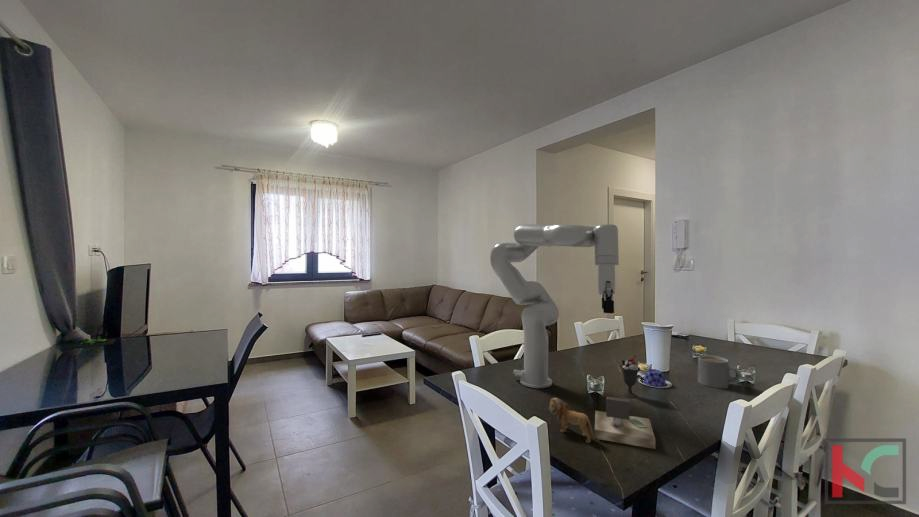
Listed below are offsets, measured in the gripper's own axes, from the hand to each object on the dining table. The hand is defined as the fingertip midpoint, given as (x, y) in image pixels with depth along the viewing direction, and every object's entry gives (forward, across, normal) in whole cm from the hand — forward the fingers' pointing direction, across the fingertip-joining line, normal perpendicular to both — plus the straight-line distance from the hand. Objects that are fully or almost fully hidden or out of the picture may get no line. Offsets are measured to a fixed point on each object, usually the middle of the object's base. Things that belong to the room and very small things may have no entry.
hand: (607, 311), depth 123 cm
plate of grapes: (+33, -28, +18) cm, 47 cm away
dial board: (+32, +19, +2) cm, 38 cm away
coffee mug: (+33, -34, +42) cm, 63 cm away
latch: (+29, +18, +1) cm, 34 cm away
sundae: (+32, -12, +8) cm, 35 cm away
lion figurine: (+32, +25, -12) cm, 42 cm away
